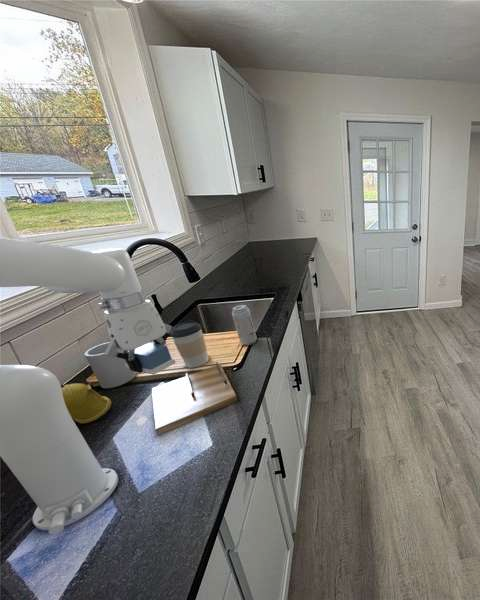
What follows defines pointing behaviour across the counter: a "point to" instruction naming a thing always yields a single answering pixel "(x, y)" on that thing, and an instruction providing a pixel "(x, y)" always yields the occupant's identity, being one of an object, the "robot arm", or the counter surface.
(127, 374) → the cup
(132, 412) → the counter surface
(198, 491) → the counter surface
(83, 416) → the yellow rounded dome part
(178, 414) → the wooden base
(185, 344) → the coffee cup
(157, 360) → the blue and white block
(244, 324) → the energy drink can
